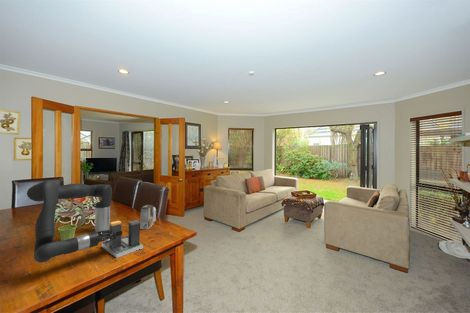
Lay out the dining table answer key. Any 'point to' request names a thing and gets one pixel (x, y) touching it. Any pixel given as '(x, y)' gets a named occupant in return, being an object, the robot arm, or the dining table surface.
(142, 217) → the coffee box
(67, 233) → the plant pot
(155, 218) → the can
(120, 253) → the twin post stand
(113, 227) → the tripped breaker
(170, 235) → the dining table surface
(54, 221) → the robot arm
